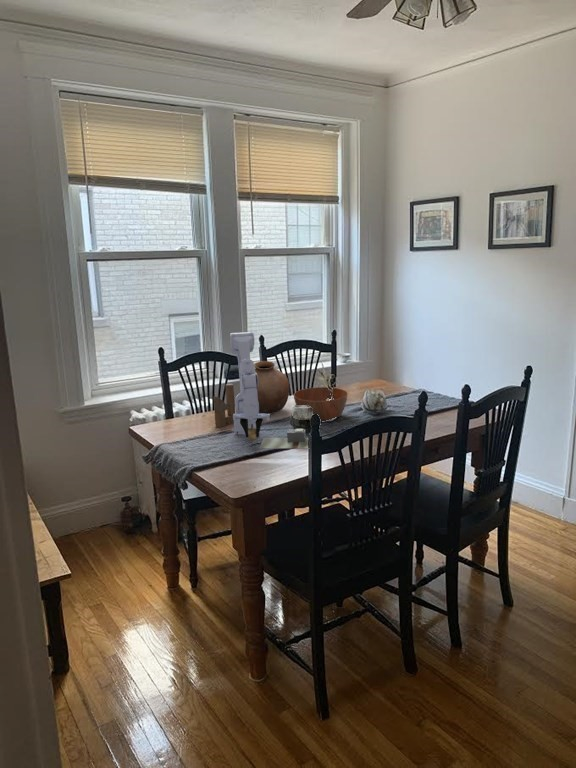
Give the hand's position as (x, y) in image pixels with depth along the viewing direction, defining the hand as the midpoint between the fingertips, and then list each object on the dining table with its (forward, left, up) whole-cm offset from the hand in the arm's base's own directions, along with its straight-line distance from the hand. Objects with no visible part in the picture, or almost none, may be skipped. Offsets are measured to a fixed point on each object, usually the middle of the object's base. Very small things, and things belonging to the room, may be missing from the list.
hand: (252, 436), depth 227 cm
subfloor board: (+13, +3, -5) cm, 14 cm away
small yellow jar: (0, 0, -2) cm, 2 cm away
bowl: (+25, +41, -5) cm, 48 cm away
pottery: (-2, +49, -5) cm, 50 cm away
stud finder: (+17, +6, -4) cm, 18 cm away
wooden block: (-18, +32, -5) cm, 37 cm away
